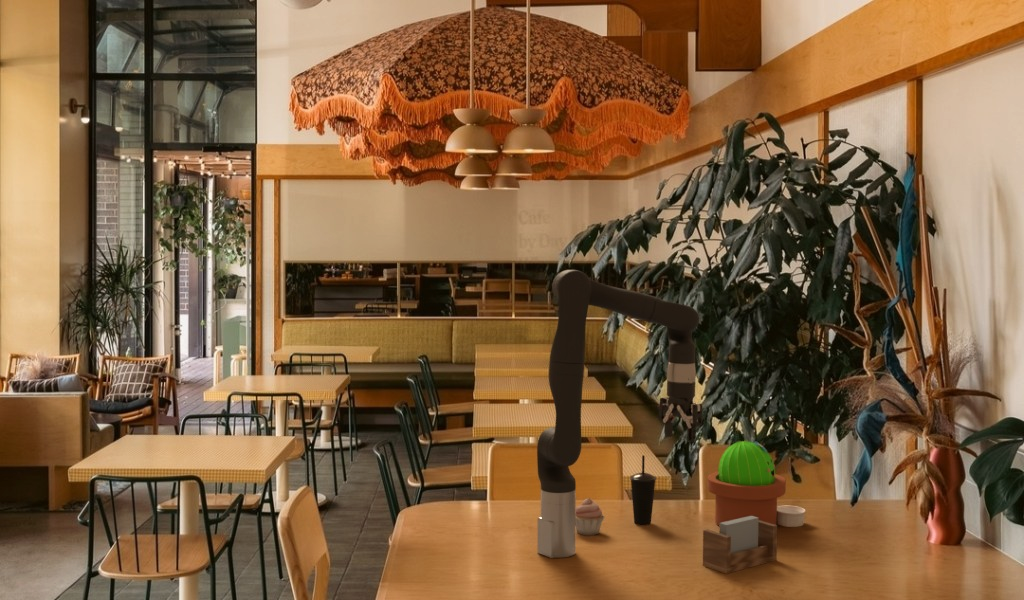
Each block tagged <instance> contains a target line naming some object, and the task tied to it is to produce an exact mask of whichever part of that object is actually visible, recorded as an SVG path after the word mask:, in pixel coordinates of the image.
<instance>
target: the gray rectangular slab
mask: <svg viewBox="0 0 1024 600" xmlns="http://www.w3.org/2000/svg"><path fill="white" fill-rule="evenodd" d="M758 520H759V518H758V517H754V516H748V517H744V518H739V519H735V520H730V521H726V522H722V523H720V524H719V525H718V526H719V527H718V528H719V529H718V533H721V534H724V535H727V536H731V554H733V553H737V552H740V551H744V550H748V549H752V548H756V547H758Z"/></svg>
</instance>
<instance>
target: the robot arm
mask: <svg viewBox="0 0 1024 600" xmlns="http://www.w3.org/2000/svg"><path fill="white" fill-rule="evenodd" d="M552 281H553V282H552V286H551V287H552V292H553V294H554V295H553V296H555V298H556V299H557V300H558V316H557V317H558V318H557V326H556V329H555V333H554V337H553V342H552V345H551V348H550V354H549V361H548V362H549V363H548V384H549V389H550V392H551V396H552V399H553V403H554V408H555V424H554V425H555V426H551V427H547V428H545V429H544V430H543V431H542V432H541V434H540V435H539V436H538V439H537V443H536V445H537V446H536V458H537V460H536V461H537V462H536V463H537V476H538V479H539V482H540V516H539V517H538V518H537V548H536V549H537V554H540V555H543V556H545V557H548V558H549V559H555V558H568V557H572V556H573V555H575V554H576V526H575V513H576V507H577V506H576V501H577V500H576V499H577V497H576V496H577V495H576V493H577V492H576V490H577V489H576V486H577V485H576V484H577V483H576V482H577V481H576V478H575V476H573V473H572V472H571V471H570V467H571V466H573V465H574V464H575V463H576V462H577V461H578V460H579V458H580V456H581V453H582V441H583V440H582V402H583V401H582V398H583V397H582V396H583V384H584V377H585V375H584V374H585V373H584V372H585V364H586V363H585V361H586V360H585V359H586V325H587V316H588V310H589V307H590V306H592V307H597V308H602V309H605V310H608V311H611V312H614V313H616V314H621V315H622V316H626V317H628V318H632V319H635V320H637V321H638V320H639V321H643V322H647V323H651V324H657V325H661V326H664V327H666V330H667V338H668V365H667V372H666V396H667V397H661V398H659V407H658V419H659V420H661V421H662V422H663V423H664V424H663V425H664V426H663V427H664V428H663V429H664V430H663V431H664V433H663V434H664V436H665V437H666V438H669V437H673V433H674V432H673V429H674V428H673V427H674V424H673V421H674V419H675V418H677V417H678V418H681V419H682V420H683V422H684V423H686V426H687V429H686V431H687V432H686V441H687V442H688V443H694V442H695V441H696V438H697V437H696V436H697V428H700V427H702V426H703V405H702V403H694V401H693V400H694V398H695V397H696V378H697V377H696V375H697V373H696V344H695V342H694V341H693V338H692V337H693V335H692V332H693V331H695V329H696V328H697V327H698V325H699V323H700V315H699V312H698V311H697V310H696V309H695V308H694V307H692V306H689V305H687V304H682V303H677V302H674V301H673V302H672V301H668V300H664V299H662V298H659V297H657V296H654V295H651V294H647V293H642V292H640V291H639V292H638V291H634V290H630V289H626V288H620V287H615V286H611V285H607V284H605V283H601V282H599V281H596V280H593V279H591V278H589V276H588V275H587V274H586V273H585V272H583V271H581V270H577V269H566V270H563V271H561V272H559V273H557V275H556V276H555V277H554V279H553V280H552Z"/></svg>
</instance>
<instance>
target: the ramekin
mask: <svg viewBox="0 0 1024 600" xmlns="http://www.w3.org/2000/svg"><path fill="white" fill-rule="evenodd" d="M805 514H806V509H805V508H803V507H801V506H797V505H788V504H787V505H777V522H776V525H779V526H782V527H788V528H795V527H796V528H797V527H801V526H803V525H804V523H805Z"/></svg>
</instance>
